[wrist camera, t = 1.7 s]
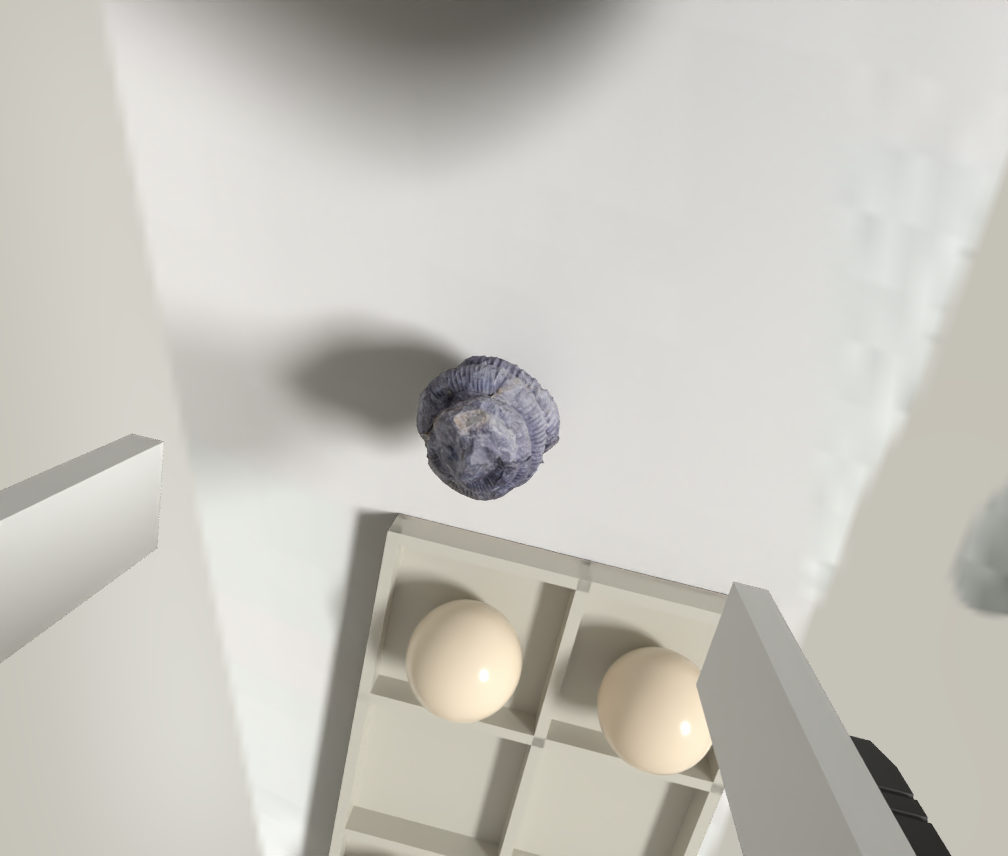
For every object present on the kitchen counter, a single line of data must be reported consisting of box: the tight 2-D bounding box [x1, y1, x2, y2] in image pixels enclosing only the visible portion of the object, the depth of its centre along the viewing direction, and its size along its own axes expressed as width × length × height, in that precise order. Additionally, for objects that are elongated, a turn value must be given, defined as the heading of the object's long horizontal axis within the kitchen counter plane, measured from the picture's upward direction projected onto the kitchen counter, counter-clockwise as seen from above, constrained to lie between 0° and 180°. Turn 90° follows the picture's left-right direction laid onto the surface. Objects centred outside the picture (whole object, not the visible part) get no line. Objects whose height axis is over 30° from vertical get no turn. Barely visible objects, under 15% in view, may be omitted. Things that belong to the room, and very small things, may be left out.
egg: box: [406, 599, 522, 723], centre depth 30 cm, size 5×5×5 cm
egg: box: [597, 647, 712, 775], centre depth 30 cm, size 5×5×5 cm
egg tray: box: [329, 514, 729, 856], centre depth 35 cm, size 28×19×2 cm
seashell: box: [417, 356, 560, 501], centre depth 25 cm, size 5×5×10 cm
